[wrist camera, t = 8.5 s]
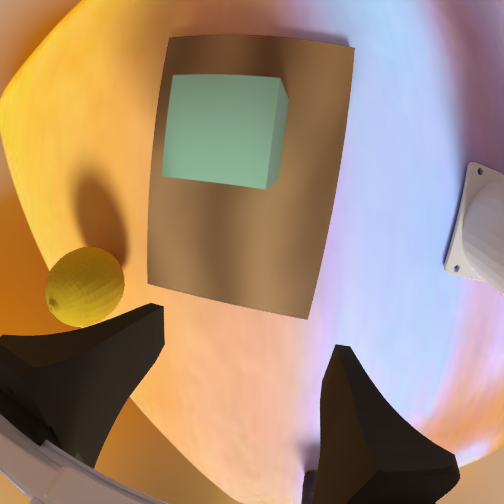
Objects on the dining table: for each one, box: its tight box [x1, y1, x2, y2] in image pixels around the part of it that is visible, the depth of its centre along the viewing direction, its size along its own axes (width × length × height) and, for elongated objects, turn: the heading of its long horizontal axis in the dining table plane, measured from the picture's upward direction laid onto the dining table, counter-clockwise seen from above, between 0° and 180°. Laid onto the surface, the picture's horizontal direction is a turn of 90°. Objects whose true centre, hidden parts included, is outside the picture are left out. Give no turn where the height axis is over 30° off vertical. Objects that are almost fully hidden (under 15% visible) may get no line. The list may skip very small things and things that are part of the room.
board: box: [147, 35, 355, 320], centre depth 18 cm, size 12×18×1 cm, turn 173°
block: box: [162, 74, 289, 190], centre depth 14 cm, size 5×5×5 cm
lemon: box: [45, 247, 125, 327], centre depth 19 cm, size 6×6×8 cm
